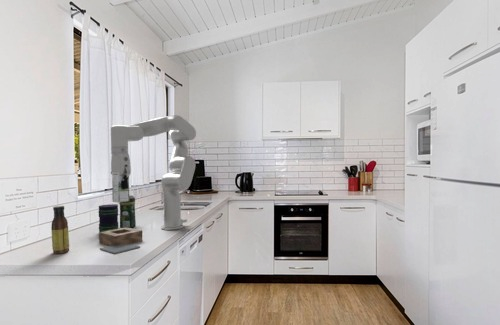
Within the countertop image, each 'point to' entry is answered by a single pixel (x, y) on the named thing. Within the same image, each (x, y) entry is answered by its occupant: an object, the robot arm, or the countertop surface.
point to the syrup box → (119, 189)
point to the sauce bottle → (60, 231)
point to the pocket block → (120, 236)
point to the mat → (119, 248)
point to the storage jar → (108, 217)
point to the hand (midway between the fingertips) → (120, 188)
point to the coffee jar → (127, 213)
